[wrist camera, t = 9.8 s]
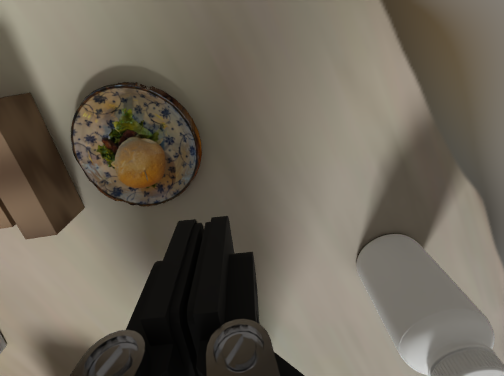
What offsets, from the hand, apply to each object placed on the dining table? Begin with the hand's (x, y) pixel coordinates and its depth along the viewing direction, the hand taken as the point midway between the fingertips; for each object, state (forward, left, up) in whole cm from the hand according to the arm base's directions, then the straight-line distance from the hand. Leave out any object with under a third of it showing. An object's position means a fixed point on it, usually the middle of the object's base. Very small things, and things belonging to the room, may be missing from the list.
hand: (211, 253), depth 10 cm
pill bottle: (-19, -16, -19) cm, 31 cm away
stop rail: (0, +19, -19) cm, 27 cm away
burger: (0, +9, -20) cm, 22 cm away
